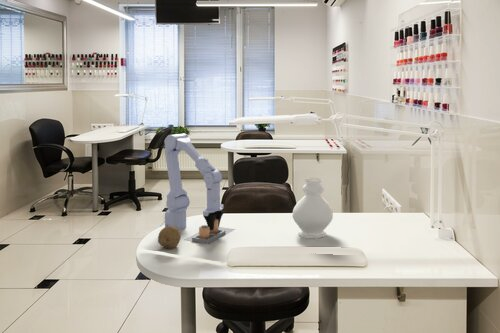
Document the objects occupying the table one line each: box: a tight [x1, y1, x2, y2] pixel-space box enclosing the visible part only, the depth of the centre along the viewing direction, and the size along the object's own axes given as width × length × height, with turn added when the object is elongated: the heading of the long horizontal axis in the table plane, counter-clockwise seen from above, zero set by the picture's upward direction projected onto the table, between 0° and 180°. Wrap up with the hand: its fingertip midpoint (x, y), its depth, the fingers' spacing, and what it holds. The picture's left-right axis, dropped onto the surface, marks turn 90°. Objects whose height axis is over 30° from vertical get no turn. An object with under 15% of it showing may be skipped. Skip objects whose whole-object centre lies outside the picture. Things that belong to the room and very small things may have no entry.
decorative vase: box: [292, 177, 334, 239], centre depth 234 cm, size 18×18×25 cm
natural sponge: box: [157, 226, 181, 250], centre depth 213 cm, size 9×9×10 cm
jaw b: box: [210, 218, 218, 233], centre depth 230 cm, size 4×4×6 cm
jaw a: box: [198, 224, 210, 239], centre depth 223 cm, size 4×4×6 cm
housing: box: [183, 226, 236, 245], centre depth 231 cm, size 12×24×3 cm, turn 154°
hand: (213, 228), depth 230 cm, fingers closed on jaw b, 4 cm apart
